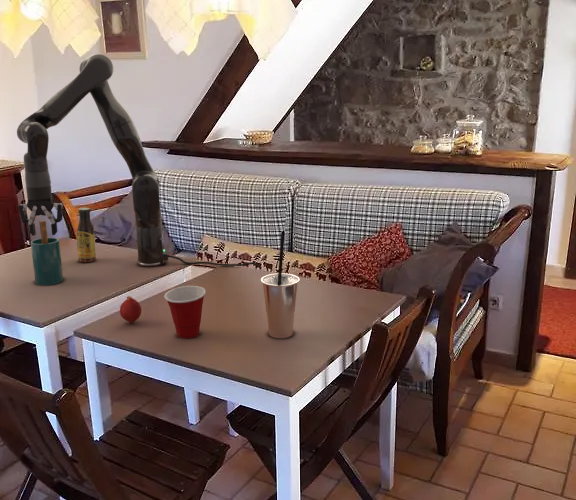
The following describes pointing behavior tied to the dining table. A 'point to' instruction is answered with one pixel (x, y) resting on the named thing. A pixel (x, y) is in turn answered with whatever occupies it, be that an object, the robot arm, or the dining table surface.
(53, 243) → the teal cylindrical container
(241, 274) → the dining table surface
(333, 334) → the dining table surface
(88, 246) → the sauce bottle
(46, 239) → the wooden peg with cap
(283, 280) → the metal cup with straw
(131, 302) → the onion
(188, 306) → the plastic cup
